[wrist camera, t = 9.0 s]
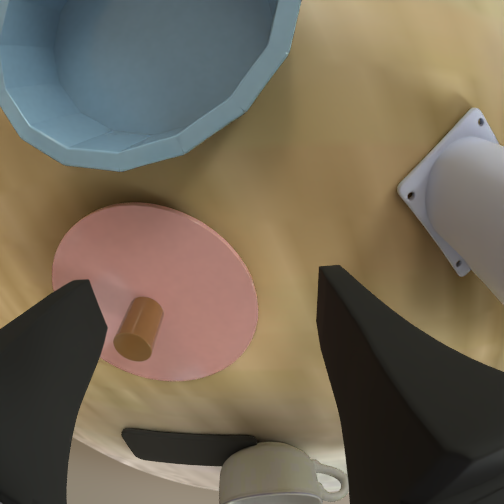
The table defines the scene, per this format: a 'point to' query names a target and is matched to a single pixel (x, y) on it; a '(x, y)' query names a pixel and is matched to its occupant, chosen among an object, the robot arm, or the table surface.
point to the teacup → (276, 477)
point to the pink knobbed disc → (161, 290)
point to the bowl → (135, 73)
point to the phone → (184, 447)
